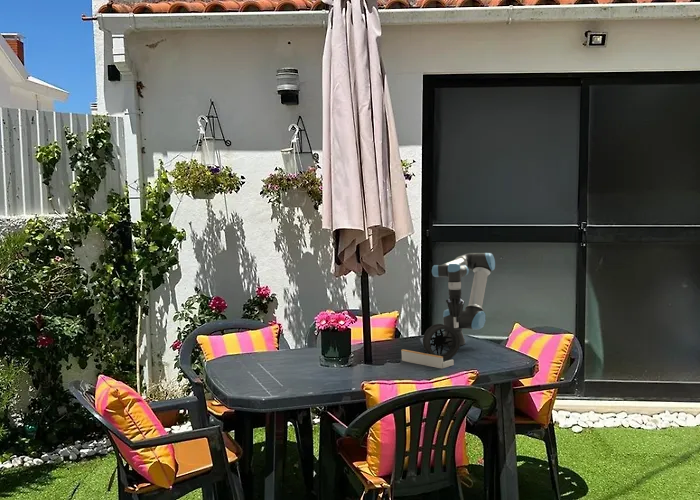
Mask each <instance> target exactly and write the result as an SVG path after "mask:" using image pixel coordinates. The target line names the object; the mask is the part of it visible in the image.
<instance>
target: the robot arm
mask: <svg viewBox="0 0 700 500" xmlns="http://www.w3.org/2000/svg"><path fill="white" fill-rule="evenodd" d="M431 268H432V269H431V274H432V277H434V278H447V280H448V284H447V285H448V296H449V297H448V299H446V300H445V303H446V304H447V309H444V310H443V312H442V313H443V316H442V318H443V325H446V326H448V327H450V328H452V329H454V330H455V331H456V332H457V334H458V335H459V339H460V346H459V347H461V346H464V345H466V340H465V337H464V333H463V330H474V331H476V330H481V329H482V328H483V327H485V324H486V317H487V316H486V312H484V308H483V302H484V298H485V294H486V293H485V291H486V286H487V282H488V277H489V275H491V272H492V271H494V270H495V268H496V259H495V257H494V254H493V253H492V252H468V253H464V254H461V255H459V256H456V257H455V259H453V260H450V261H448V262H445V263H443V264H440V265H439V264H434V265H433V266H432V267H431ZM470 271H472V272H473V273H474V276H473V280H472V285H471V291H470V295H469V299H468V300H469V301H468V305H466V306H465V307H464V305H465V302H466V301H465V300H464V299H462V289H461V288H462V278H464V277H466V276H467V275H469V273H470ZM464 309H465V310H464ZM443 330H445V329H443ZM447 333H448V330H445V331H444V332H443V336H447ZM447 337H452V335H451V333H450V332H449V334H448V336H447ZM445 339H446V338H445ZM450 340H452V338H447V339H446V341H450ZM446 341H445V342H446ZM448 345H449V347H451V345H452V342H449V343H448ZM448 345H447V344H446V345H444V344H443V346H444V347H445V346H447V347H448Z"/></svg>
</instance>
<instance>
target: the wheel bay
mask: <svg viewBox="0 0 700 500" xmlns="http://www.w3.org/2000/svg"><path fill="white" fill-rule="evenodd" d="M400 351H401V361H403V362H407V363H411V364H417V365H421V366H426V367H427V366H428V367H433V368H437V369H446V368H449V367H452V366H454V365H455V364H454V363H455V360H454V359H452V358H450V359H447V360H443V356H437V355H432V354H428V353H427V352H426V353H425V352H419V351H414V350H409V349H401V350H400Z"/></svg>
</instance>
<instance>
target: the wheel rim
mask: <svg viewBox="0 0 700 500" xmlns="http://www.w3.org/2000/svg"><path fill="white" fill-rule="evenodd" d="M444 329H445V330H448V333H447V336H448V334H449V332H450V333H451V335H452V337H447V336H443V334H444V331H445V330H444ZM438 331H439V333H438ZM445 338H446V339H447V338H452V340H450V341H446V339H445ZM445 341H446V342H445ZM449 342H452V345H451V346H449V345H448V343H449ZM443 344H444V345H443ZM446 344H447V345H448V346H447V347H448V349H445V345H446ZM422 346H423V350H424V351H425V352H426V354H432V355H437V356H443V361H448V360H451V359H452V358H453V357H455V355H456V354H457V353H458V352H459V349H460V347H461V346H460V339H459V335H458V334H457V332H456V331H455V330H454V329H452V328H450V327H448V326H446V325H444V323H435V324H432V325H431V326H429V327H428V328H427V329H426V330H425V332H424V334H423V337H422ZM432 347H434V348H435V349H434V350H432ZM439 349H440V351H439ZM443 350H444V351H446V352H444V353H443ZM435 351H436V353H435Z"/></svg>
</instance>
